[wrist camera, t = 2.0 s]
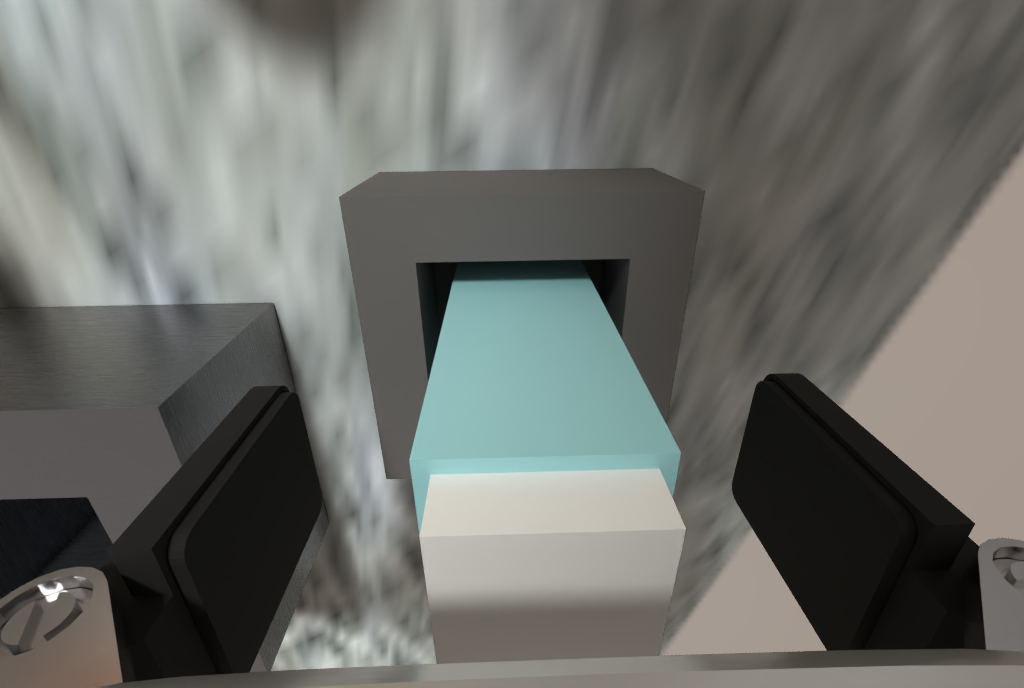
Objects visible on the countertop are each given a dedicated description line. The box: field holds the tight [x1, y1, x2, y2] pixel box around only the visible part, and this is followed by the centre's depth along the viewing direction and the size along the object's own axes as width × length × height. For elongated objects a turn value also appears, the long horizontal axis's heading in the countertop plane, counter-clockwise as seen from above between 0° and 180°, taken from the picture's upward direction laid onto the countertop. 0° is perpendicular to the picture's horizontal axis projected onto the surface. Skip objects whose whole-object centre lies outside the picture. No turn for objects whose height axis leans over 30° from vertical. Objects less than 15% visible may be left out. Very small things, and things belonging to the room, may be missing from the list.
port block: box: [0, 303, 329, 673], centre depth 15 cm, size 10×10×6 cm
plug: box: [409, 260, 686, 664], centre depth 11 cm, size 4×4×10 cm
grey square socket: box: [339, 168, 705, 479], centre depth 14 cm, size 8×8×4 cm
